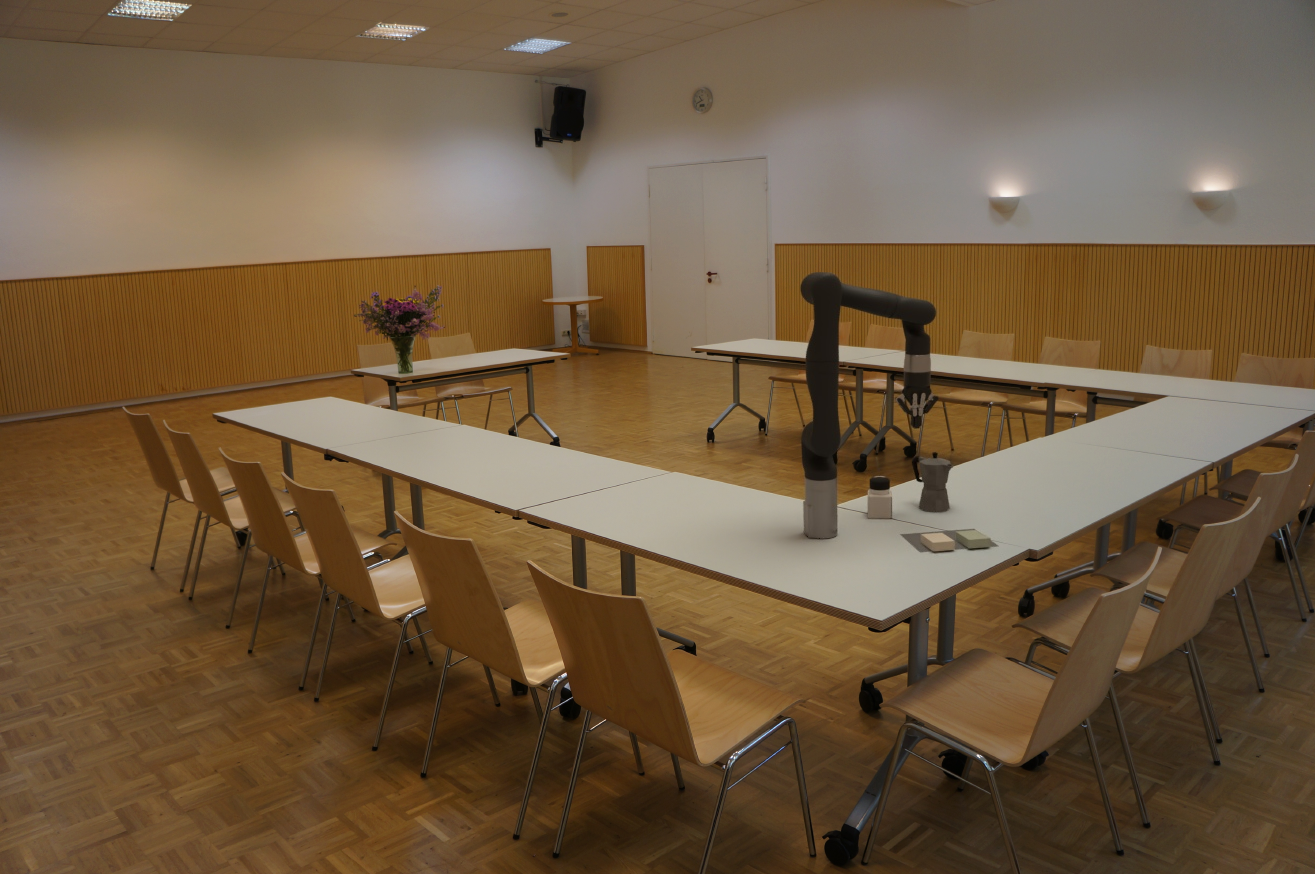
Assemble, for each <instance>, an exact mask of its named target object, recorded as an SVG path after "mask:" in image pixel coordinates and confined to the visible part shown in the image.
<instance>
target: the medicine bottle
mask: <svg viewBox="0 0 1315 874" xmlns="http://www.w3.org/2000/svg"><path fill="white" fill-rule="evenodd" d="M892 518H893V495H892V490H891V480H890V478H889V477H887V476H882V475H880V476H879V475H876V476H872V477H871V478H869V489H868V490H867V519H892Z"/></svg>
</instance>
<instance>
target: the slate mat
mask: <svg viewBox="0 0 1315 874" xmlns="http://www.w3.org/2000/svg"><path fill="white" fill-rule="evenodd" d="M969 530H976V529H975V528H965V529H953V530H941V531H940V530H939V531H925V532H924V531H923V532H913V533H912V532H911V533H900V534H899V535H900V536H901V537H902V538H903V539H905V541H907V542H908V543H909V544H910V545H911V546H912V547H914V548H915V549H916V550H917V551H918V552H919V553H930V552H931V553H932V552H933V551H932V550H931V549H929V548H928V547H926V546H925V545H923V544H922V543H921V534H931V533H943V534H945V535H946V536H948V537H949V538H951V539H952V540H954V541H955V550H954V551H957V550H968V549H969V550H970V549H972V548H968V547H966V546H964V545H963V544H961V543H960V542H958V541H957V540H956V531H969ZM995 547H996V548H997V547H999V545H998V544H997V543H995V542H994V541H993V540H991V547H990V548H995ZM983 548H985V547H982V549H983Z"/></svg>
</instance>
